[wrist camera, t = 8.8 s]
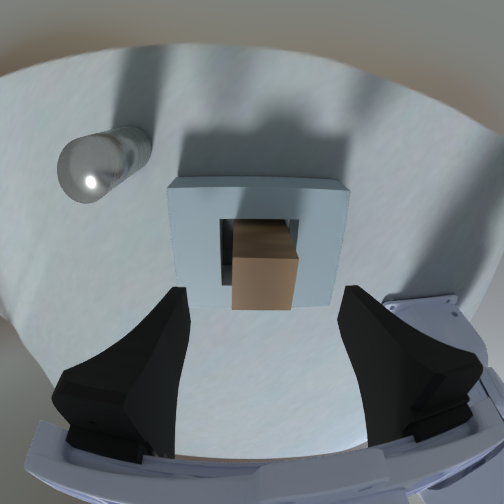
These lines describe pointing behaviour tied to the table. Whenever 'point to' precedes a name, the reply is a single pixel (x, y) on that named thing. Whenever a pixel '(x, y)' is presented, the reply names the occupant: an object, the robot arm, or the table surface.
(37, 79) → the table surface
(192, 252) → the socket block
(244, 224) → the square bit
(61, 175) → the cylinder
